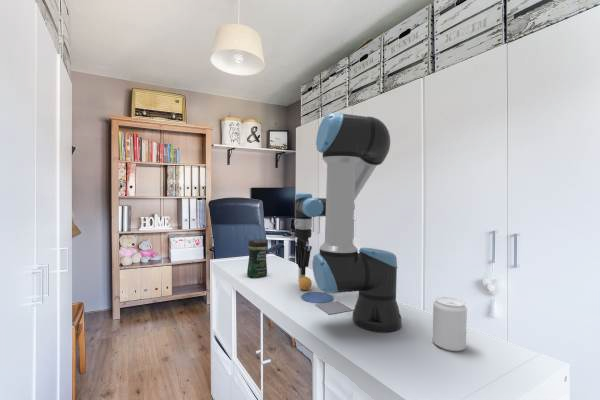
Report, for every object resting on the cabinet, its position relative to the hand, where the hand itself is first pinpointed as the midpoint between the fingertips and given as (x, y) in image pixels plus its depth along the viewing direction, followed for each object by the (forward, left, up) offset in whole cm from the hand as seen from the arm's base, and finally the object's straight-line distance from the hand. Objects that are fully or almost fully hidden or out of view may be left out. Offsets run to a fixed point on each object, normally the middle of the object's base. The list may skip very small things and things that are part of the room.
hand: (301, 281), depth 130 cm
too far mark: (-26, 0, -3) cm, 26 cm away
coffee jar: (+26, +12, -3) cm, 28 cm away
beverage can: (-62, -14, -3) cm, 64 cm away
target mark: (-14, 0, -3) cm, 15 cm away
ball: (-3, 0, 0) cm, 3 cm away
